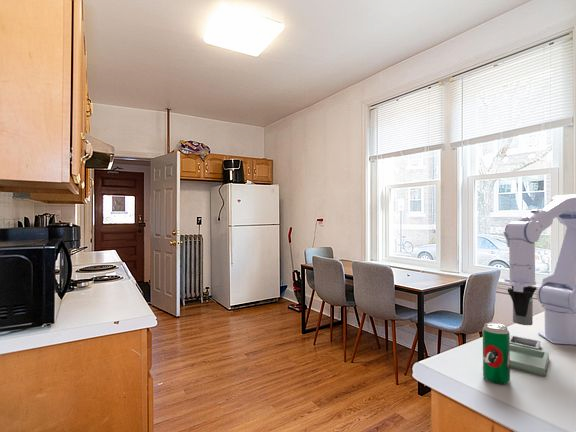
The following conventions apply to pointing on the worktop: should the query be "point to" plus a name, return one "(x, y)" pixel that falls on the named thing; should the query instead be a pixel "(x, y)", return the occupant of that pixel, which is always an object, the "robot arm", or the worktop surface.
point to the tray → (528, 360)
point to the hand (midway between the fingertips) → (522, 313)
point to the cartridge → (529, 317)
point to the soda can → (496, 353)
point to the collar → (525, 342)
